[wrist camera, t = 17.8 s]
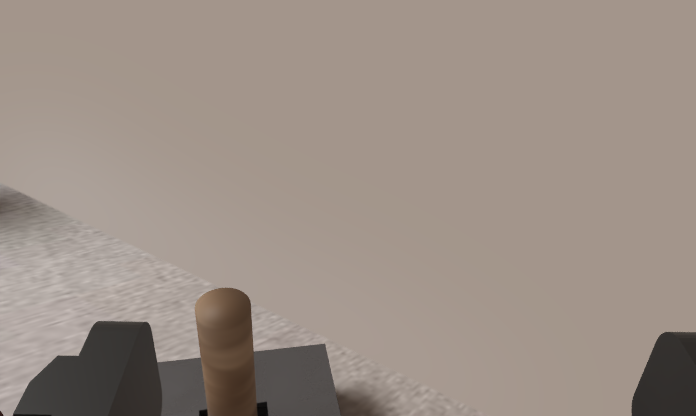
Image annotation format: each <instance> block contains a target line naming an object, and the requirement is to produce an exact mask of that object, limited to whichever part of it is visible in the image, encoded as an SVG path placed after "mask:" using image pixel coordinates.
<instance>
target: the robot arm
mask: <svg viewBox="0 0 696 416" xmlns="http://www.w3.org/2000/svg"><path fill="white" fill-rule="evenodd" d="M161 412H162V387H161V381H160V376H159V370H158V365H157V359H156V353H155V348H154V342H153V336H152V331H151V327H150V325H149V323H147V322H115V321H98V322H96V323H95V324H94V325H93V327H92V328H91V330H90V332H89V335H88V337H87V339H86V341H85V343H84V346H83V348H82V350H81V352H80V354H79V356H57V357H56V358H55V359H54V360H53V361H52V362H51V363H50V364H48V365H47V366H46V367H45V368H44V369H43V370H42V371H41V372H40V373H39V374H38V375H37V376H36V377H35V378H34V379H33V380H32V381H31V382H30V383H29V384H28V386H27V388H26V390H25V392H24V394H23V396H22V398H21V400H20V402H19V404H18V406H17V407H16V409H15V411H14V413H13V416H161ZM632 416H696V332H665V333H663V334H661V335H660V336H659V338H658V339H657V341H656V343H655V346H654V348H653V350H652V353H651V355H650V358H649V360H648V362H647V365H646V367H645V369H644V372H643V374H642V377H641V379H640V381H639V384H638V387H637V389H636V391H635V393H634V396H633V400H632Z"/></svg>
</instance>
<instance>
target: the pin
mask: <svg viewBox="0 0 696 416" xmlns="http://www.w3.org/2000/svg"><path fill="white" fill-rule="evenodd" d="M195 315H196V323H197V330H198V338H199V346H200V354H201V362H202V370H203V378H204V386H205V394H206V402H207V410H208V416H257V400H256V384H255V368H254V351H253V335H252V319H251V303H250V299H249V298H248V296H247V295H246V294H244V293H243V292H242V291H240V290H237V289H233V288H219V289H215V290H211V291H209V292H207V293H205V294H204V295H202V296H201V297H200V298H199V299H198V301H197V302H196V305H195Z"/></svg>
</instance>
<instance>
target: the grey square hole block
mask: <svg viewBox="0 0 696 416" xmlns="http://www.w3.org/2000/svg"><path fill="white" fill-rule="evenodd" d="M157 365H158V370H159V376H160V381H161V387H162V412H161V416H208V410H207V402H206V394H205V386H204V378H203V370H202V362H201V358H194V359H185V360H176V361H167V362H158V363H157ZM254 368H255V384H256V400H257V416H341V414H340V409H339V405H338V400H337V396H336V392H335V387H334V383H333V378H332V374H331V369H330V365H329V360H328V356H327V351H326V347H325V344H319V345H310V346H301V347H292V348H283V349H274V350H265V351H256V352H254Z"/></svg>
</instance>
